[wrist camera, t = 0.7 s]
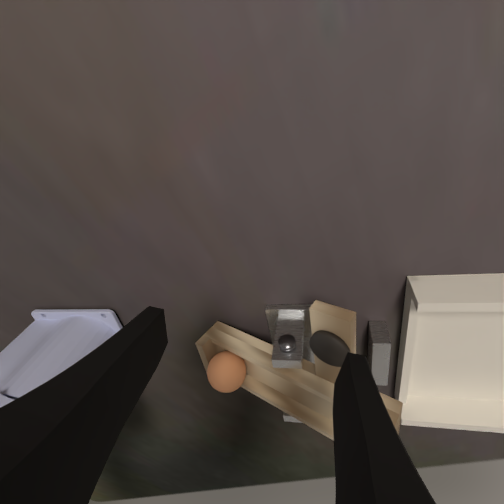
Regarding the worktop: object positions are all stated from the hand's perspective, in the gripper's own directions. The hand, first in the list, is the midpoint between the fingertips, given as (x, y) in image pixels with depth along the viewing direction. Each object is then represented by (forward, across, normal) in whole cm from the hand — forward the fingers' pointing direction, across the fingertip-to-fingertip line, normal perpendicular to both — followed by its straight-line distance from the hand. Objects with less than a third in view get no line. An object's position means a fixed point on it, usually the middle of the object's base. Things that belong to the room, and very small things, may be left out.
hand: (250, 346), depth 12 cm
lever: (+7, -2, +8) cm, 11 cm away
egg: (+7, +2, +13) cm, 15 cm away
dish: (+11, -16, +8) cm, 21 cm away
